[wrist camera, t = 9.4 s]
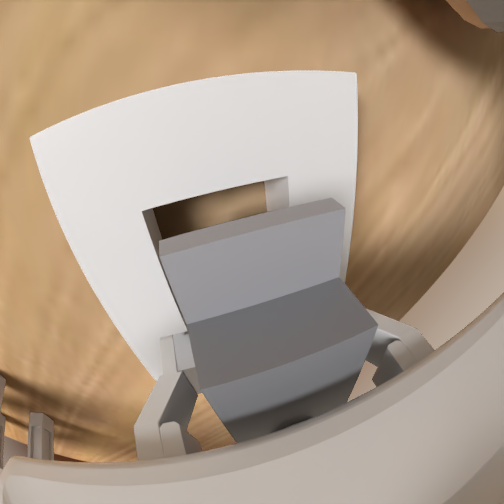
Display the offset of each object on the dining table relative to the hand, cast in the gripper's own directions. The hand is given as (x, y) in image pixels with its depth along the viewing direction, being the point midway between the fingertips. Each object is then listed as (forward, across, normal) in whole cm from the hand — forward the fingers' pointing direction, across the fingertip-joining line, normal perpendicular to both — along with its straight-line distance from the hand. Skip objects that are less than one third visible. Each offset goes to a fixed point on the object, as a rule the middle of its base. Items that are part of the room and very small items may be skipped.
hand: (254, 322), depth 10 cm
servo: (+2, 0, 0) cm, 2 cm away
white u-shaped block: (+6, 0, 0) cm, 6 cm away
